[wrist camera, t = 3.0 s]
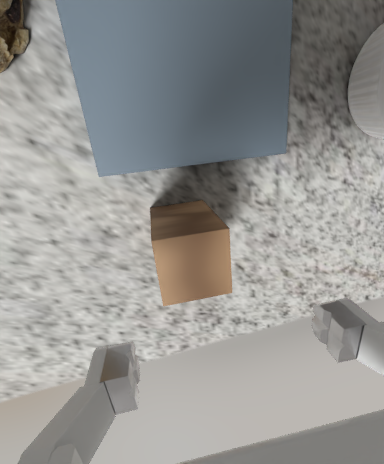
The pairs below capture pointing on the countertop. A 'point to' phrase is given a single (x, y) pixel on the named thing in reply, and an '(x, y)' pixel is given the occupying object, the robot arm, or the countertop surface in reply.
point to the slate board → (180, 79)
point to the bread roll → (11, 31)
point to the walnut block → (190, 252)
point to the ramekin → (369, 86)
